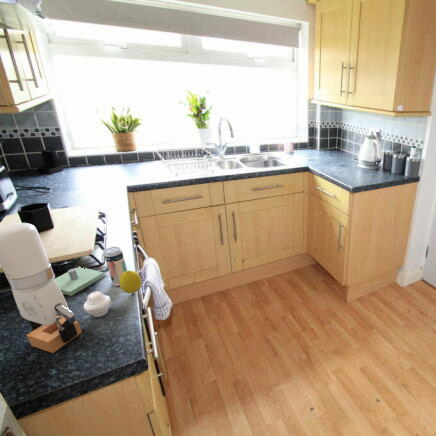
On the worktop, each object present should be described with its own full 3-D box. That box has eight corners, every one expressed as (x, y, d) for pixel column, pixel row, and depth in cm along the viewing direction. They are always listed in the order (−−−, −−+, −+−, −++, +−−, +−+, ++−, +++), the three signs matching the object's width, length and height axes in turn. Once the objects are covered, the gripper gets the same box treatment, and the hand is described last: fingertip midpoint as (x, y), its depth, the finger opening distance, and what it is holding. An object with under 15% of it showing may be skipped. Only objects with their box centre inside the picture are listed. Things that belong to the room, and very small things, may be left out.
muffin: (84, 313, 88) (76, 293, 85) (109, 303, 92) (103, 283, 90) (91, 324, 84) (84, 303, 82) (117, 312, 89) (111, 292, 86)
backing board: (71, 296, 95) (66, 283, 93) (44, 288, 98) (39, 276, 96) (105, 276, 105) (101, 264, 103) (79, 270, 107) (76, 258, 106)
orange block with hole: (52, 353, 75) (48, 342, 74) (31, 345, 77) (26, 334, 76) (82, 332, 82) (78, 321, 80) (61, 325, 84) (57, 315, 82)
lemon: (147, 292, 98) (142, 269, 94) (128, 301, 93) (122, 278, 90) (138, 285, 100) (132, 263, 97) (119, 294, 96) (112, 272, 93)
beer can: (111, 282, 102) (101, 249, 97) (128, 276, 105) (119, 244, 100) (114, 289, 99) (104, 255, 94) (131, 283, 101) (122, 250, 97)
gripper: (-15, 278, 71) (14, 336, 78) (41, 293, 67) (66, 354, 74) (23, 261, 78) (47, 316, 85) (76, 274, 73) (97, 331, 80)
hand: (56, 334), depth 79 cm, fingers open, 9 cm apart
